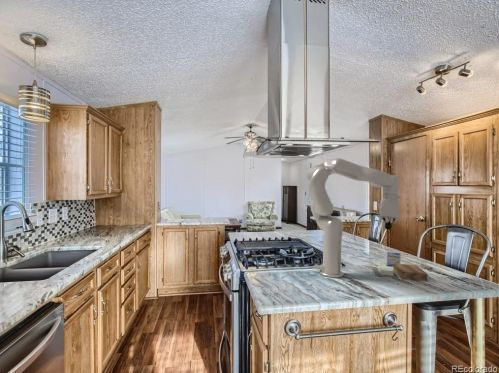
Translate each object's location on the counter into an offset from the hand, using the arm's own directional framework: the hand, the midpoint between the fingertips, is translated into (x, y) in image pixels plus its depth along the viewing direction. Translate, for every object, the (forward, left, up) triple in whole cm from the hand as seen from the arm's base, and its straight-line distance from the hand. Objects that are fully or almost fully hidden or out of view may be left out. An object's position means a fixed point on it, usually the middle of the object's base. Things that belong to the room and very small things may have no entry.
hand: (387, 229), depth 155 cm
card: (-1, -1, -22) cm, 22 cm away
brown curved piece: (+11, -1, -25) cm, 27 cm away
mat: (-1, -1, -25) cm, 25 cm away
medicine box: (+7, +17, -25) cm, 31 cm away
